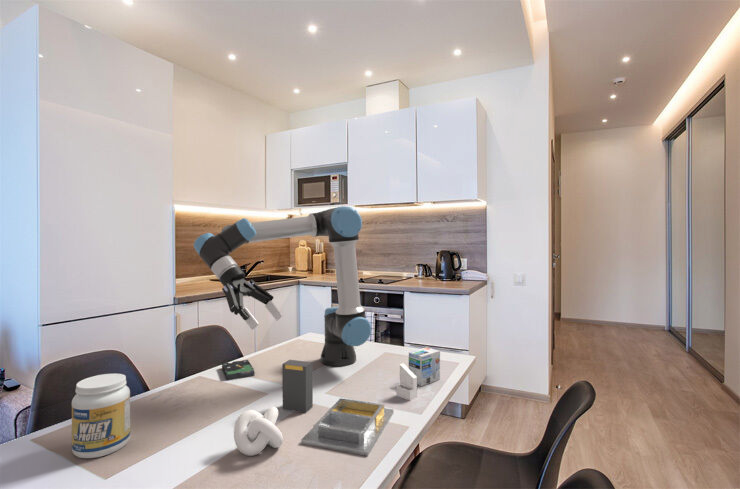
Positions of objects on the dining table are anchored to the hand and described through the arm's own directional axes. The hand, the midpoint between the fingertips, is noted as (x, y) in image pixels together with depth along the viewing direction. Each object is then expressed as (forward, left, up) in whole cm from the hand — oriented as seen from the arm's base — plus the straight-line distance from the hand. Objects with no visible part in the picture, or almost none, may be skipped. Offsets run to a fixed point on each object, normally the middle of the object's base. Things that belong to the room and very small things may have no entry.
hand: (268, 322), depth 122 cm
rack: (+6, +30, -26) cm, 40 cm away
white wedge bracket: (-19, +40, -26) cm, 52 cm away
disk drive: (-21, -28, -27) cm, 44 cm away
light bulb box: (-35, +43, -26) cm, 61 cm away
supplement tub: (+35, -26, -26) cm, 51 cm away
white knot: (+22, +12, -26) cm, 36 cm away
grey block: (0, +10, -26) cm, 28 cm away
